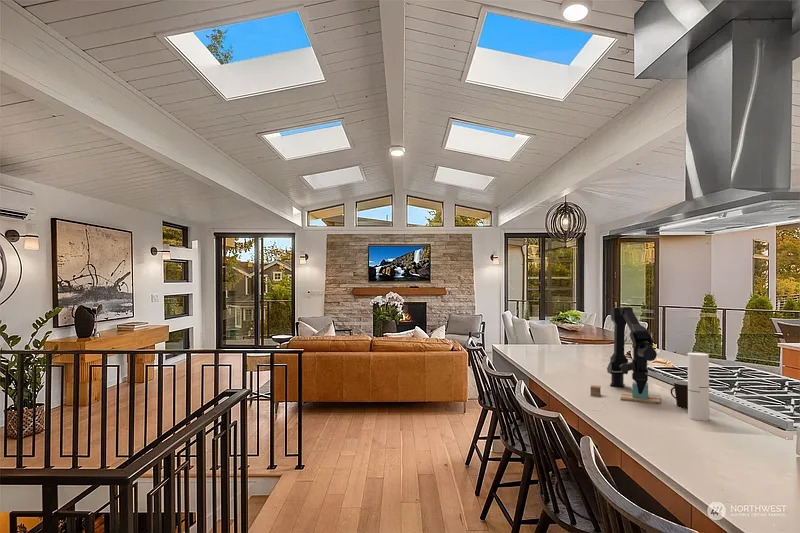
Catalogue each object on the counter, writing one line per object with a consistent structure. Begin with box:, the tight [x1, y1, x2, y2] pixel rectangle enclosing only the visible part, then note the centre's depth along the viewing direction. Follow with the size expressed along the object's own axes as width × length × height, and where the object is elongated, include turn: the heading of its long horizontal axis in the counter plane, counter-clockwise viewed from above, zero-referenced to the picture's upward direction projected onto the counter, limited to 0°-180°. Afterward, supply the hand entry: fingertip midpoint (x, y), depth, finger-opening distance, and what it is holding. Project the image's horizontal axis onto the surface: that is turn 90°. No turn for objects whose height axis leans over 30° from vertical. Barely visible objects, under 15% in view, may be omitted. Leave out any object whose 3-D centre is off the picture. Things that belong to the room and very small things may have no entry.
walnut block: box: [590, 384, 602, 397], centre depth 240 cm, size 4×4×4 cm
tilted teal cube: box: [631, 381, 649, 399], centre depth 232 cm, size 6×6×6 cm
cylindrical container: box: [687, 352, 710, 422], centre depth 201 cm, size 7×7×25 cm
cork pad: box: [619, 391, 662, 405], centre depth 232 cm, size 14×16×1 cm
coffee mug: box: [670, 380, 688, 410], centre depth 218 cm, size 12×9×10 cm
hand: (640, 391), depth 232 cm, fingers open, 8 cm apart
